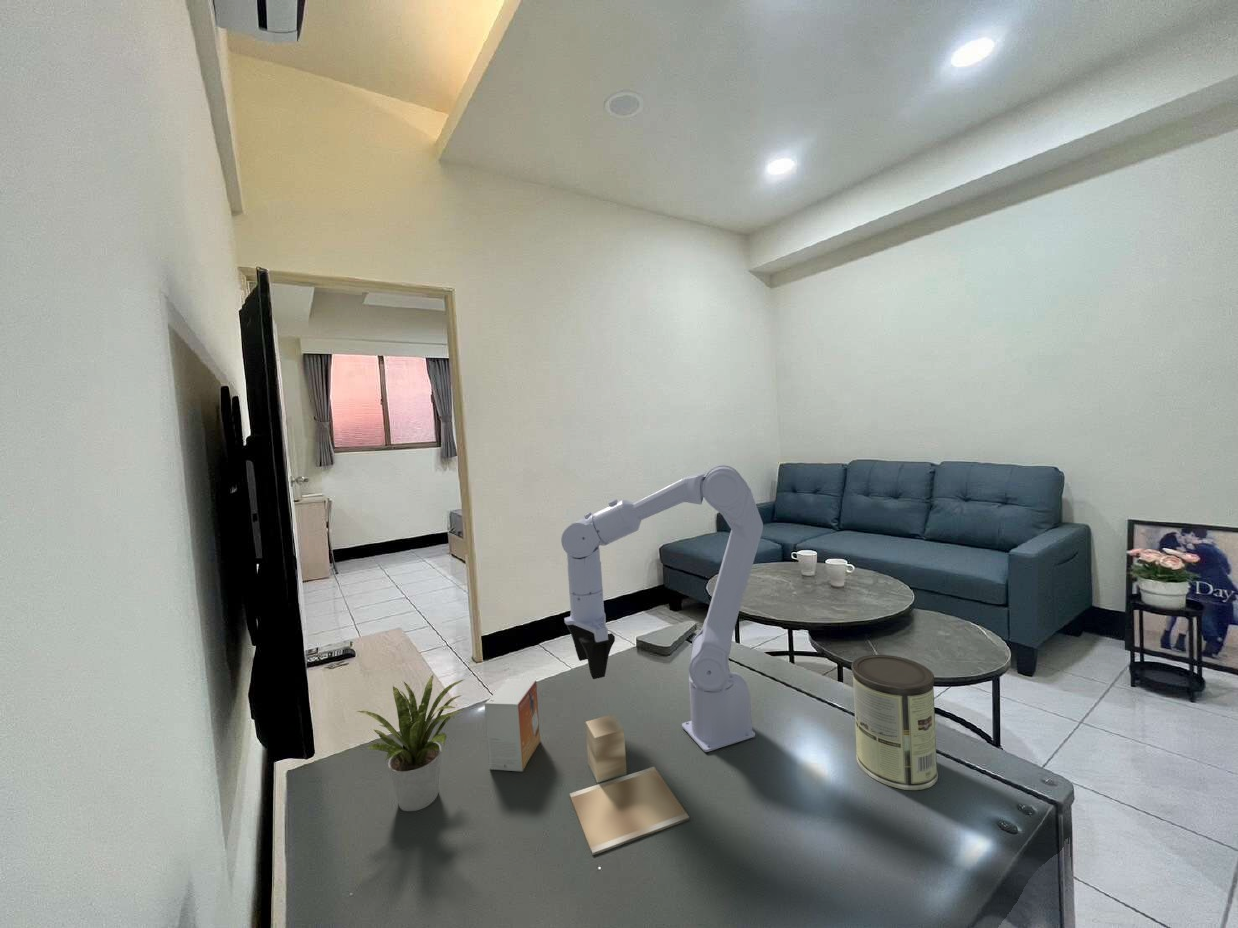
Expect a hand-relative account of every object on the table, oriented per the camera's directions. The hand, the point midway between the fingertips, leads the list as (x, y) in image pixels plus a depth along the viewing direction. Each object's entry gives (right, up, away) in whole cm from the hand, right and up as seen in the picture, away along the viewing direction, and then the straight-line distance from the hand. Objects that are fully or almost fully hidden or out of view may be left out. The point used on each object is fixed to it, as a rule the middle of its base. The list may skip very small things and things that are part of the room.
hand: (591, 667), depth 84 cm
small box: (-12, -12, -6) cm, 18 cm away
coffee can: (+44, -8, -14) cm, 47 cm away
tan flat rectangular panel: (+6, -11, -19) cm, 22 cm away
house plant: (-22, -13, -14) cm, 29 cm away
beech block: (+3, -11, -11) cm, 16 cm away
